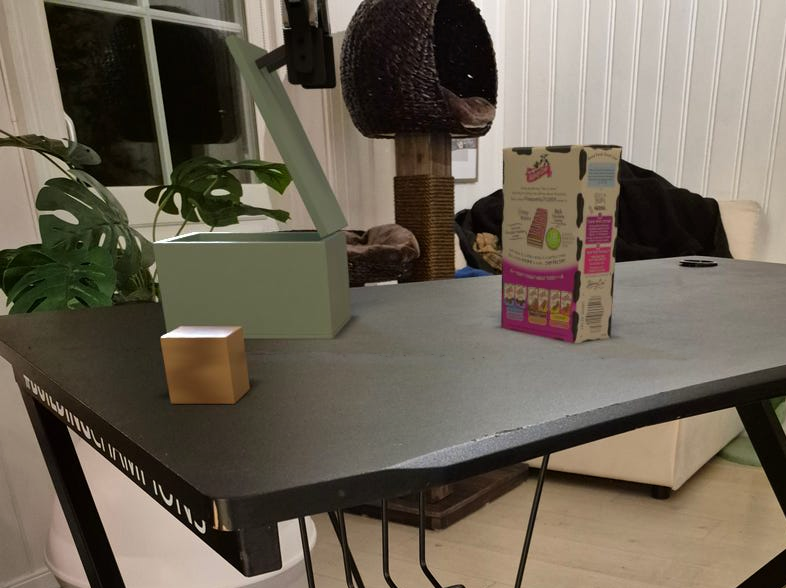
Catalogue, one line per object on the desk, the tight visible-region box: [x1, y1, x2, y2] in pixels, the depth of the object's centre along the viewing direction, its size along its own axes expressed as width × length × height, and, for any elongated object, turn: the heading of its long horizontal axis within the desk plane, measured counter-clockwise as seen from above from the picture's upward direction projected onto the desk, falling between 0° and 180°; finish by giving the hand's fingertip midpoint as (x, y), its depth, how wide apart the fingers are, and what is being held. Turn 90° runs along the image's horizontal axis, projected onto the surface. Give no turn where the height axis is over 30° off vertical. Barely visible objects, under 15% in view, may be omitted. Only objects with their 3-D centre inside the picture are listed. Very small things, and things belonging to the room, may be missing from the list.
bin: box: [152, 231, 352, 339], centre depth 89 cm, size 16×13×9 cm
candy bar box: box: [500, 143, 623, 344], centre depth 84 cm, size 11×5×16 cm, turn 37°
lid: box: [224, 34, 349, 238], centre depth 82 cm, size 16×13×5 cm
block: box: [159, 326, 251, 405], centre depth 66 cm, size 5×5×5 cm
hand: (313, 84), depth 81 cm, fingers closed on lid, 5 cm apart
